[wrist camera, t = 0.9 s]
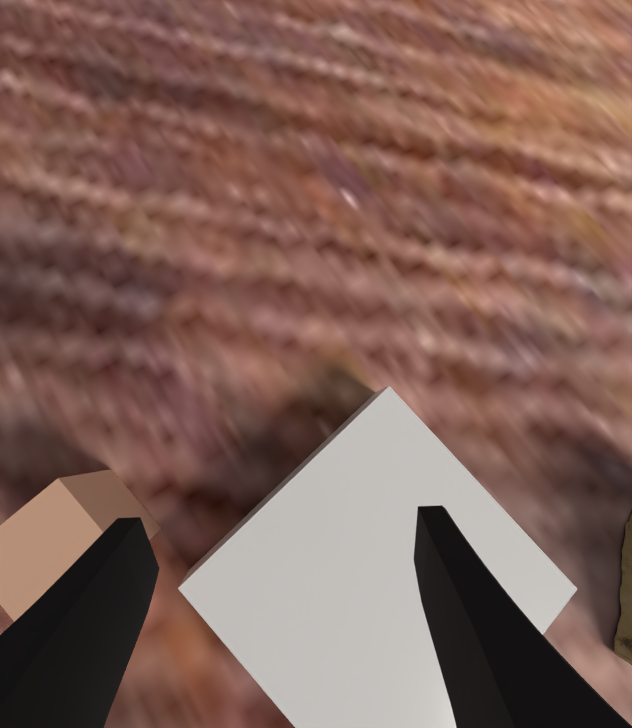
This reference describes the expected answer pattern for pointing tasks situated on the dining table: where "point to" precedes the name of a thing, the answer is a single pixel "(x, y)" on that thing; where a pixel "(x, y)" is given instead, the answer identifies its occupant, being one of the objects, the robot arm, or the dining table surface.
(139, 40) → the dining table surface
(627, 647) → the rock
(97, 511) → the terracotta block
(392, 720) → the base plinth
